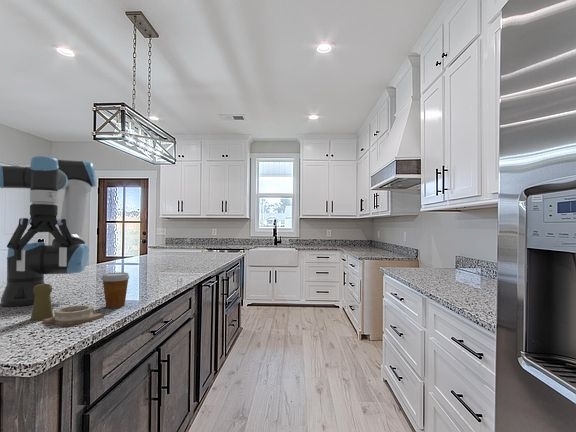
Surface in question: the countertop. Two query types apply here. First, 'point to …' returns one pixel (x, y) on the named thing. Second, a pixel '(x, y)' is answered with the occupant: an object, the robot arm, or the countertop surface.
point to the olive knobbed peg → (42, 302)
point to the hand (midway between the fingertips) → (42, 268)
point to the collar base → (72, 323)
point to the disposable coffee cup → (115, 288)
